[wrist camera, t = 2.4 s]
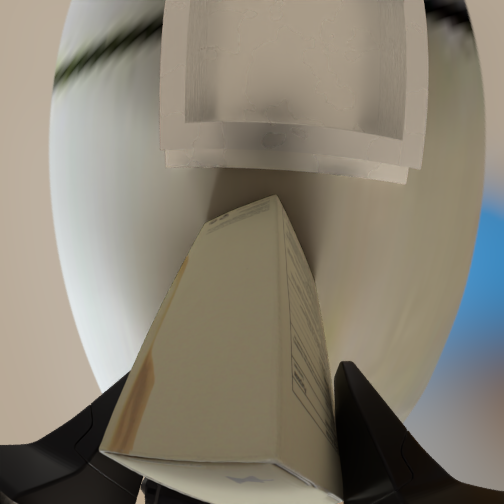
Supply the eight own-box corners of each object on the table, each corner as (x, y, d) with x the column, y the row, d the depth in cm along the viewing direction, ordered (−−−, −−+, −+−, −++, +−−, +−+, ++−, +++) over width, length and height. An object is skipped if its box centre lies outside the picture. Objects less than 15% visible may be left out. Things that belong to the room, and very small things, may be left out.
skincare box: (202, 222, 15) (79, 442, 4) (278, 190, 14) (270, 457, 3) (252, 311, 17) (223, 513, 6) (319, 290, 16) (346, 507, 5)
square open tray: (401, 181, 13) (434, 203, 10) (169, 165, 13) (139, 182, 10) (400, -40, 6) (425, -65, 3) (182, -57, 7) (161, -87, 4)
